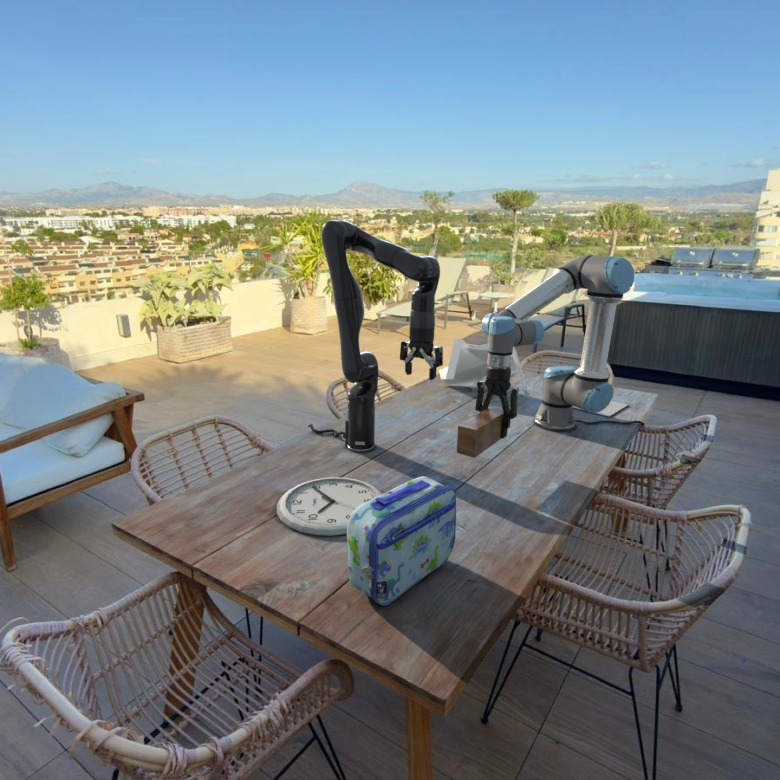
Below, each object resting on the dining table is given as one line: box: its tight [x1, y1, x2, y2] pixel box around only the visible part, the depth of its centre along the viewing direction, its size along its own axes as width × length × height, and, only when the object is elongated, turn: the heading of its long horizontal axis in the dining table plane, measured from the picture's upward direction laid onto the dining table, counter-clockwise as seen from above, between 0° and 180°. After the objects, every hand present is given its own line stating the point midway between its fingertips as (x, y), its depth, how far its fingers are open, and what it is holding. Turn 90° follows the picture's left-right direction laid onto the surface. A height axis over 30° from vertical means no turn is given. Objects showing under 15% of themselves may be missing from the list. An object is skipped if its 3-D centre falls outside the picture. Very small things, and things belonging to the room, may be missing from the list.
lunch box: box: [346, 475, 457, 607], centre depth 111 cm, size 26×11×21 cm, turn 134°
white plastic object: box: [438, 310, 531, 397], centre depth 245 cm, size 37×45×31 cm
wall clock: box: [276, 476, 384, 537], centre depth 142 cm, size 30×2×30 cm
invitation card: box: [573, 400, 629, 418], centre depth 226 cm, size 21×1×15 cm
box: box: [456, 405, 505, 459], centre depth 164 cm, size 22×6×9 cm, turn 143°
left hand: (420, 376), depth 162 cm, fingers open, 8 cm apart
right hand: (494, 434), depth 171 cm, fingers closed on box, 6 cm apart
